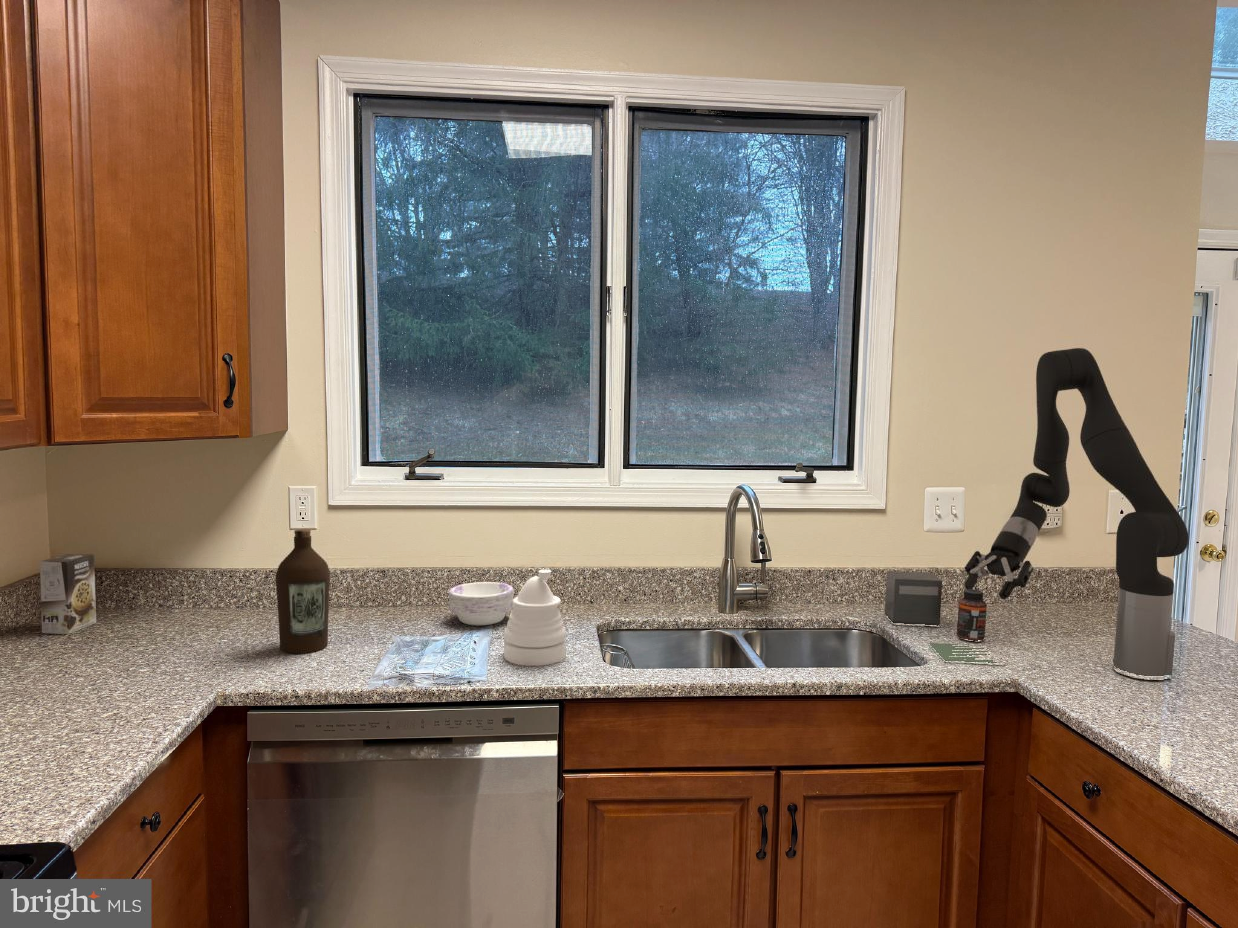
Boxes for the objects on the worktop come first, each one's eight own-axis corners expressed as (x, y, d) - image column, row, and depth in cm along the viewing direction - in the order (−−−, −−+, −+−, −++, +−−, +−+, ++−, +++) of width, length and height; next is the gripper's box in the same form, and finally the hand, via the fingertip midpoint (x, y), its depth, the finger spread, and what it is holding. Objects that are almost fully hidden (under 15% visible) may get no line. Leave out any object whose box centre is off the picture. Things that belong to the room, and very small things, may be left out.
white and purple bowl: (443, 615, 196) (443, 583, 195) (504, 609, 202) (504, 578, 201) (455, 632, 182) (456, 598, 181) (520, 626, 188) (521, 593, 187)
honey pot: (574, 649, 172) (575, 566, 170) (553, 668, 159) (554, 579, 158) (518, 643, 175) (519, 562, 173) (493, 661, 163) (494, 574, 161)
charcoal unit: (928, 616, 203) (931, 572, 202) (940, 628, 193) (943, 581, 192) (884, 614, 204) (886, 570, 203) (893, 625, 194) (895, 579, 193)
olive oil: (272, 644, 171) (270, 528, 169) (324, 636, 177) (322, 524, 175) (282, 658, 162) (280, 536, 160) (336, 649, 168) (335, 531, 166)
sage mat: (984, 648, 178) (984, 645, 178) (1004, 665, 166) (1004, 663, 166) (928, 645, 179) (929, 642, 179) (944, 662, 167) (944, 659, 167)
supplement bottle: (981, 644, 180) (984, 595, 180) (953, 639, 184) (956, 591, 183) (987, 638, 185) (990, 590, 184) (960, 633, 189) (963, 586, 188)
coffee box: (70, 634, 175) (67, 561, 173) (40, 633, 175) (37, 560, 173) (98, 622, 184) (95, 553, 182) (70, 622, 184) (67, 552, 183)
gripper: (981, 525, 196) (950, 576, 191) (1039, 534, 184) (1007, 589, 179) (992, 545, 199) (962, 596, 194) (1050, 555, 187) (1019, 610, 182)
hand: (984, 593), depth 186 cm, fingers open, 8 cm apart
